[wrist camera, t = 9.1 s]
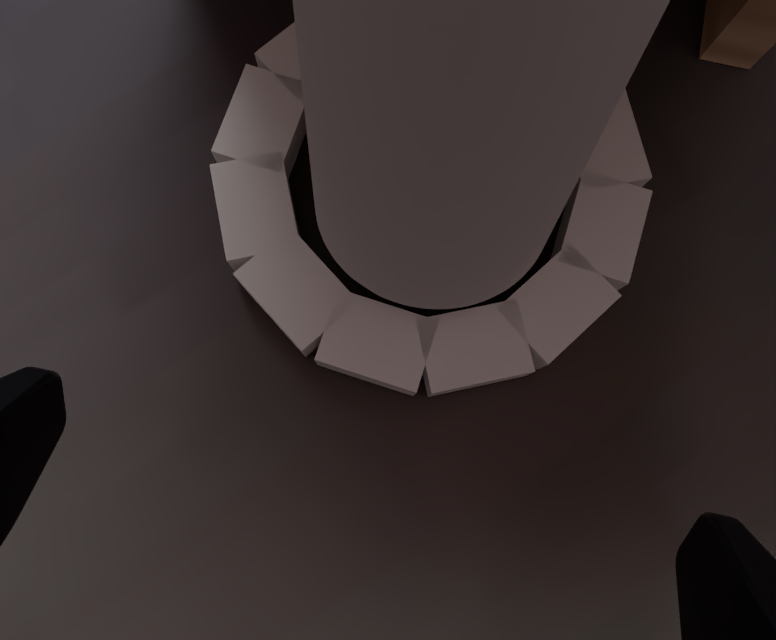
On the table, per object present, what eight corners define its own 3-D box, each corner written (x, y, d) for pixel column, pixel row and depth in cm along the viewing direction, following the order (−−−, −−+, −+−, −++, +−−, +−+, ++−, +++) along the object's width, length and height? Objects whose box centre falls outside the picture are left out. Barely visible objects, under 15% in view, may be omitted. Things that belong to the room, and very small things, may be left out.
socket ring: (680, 343, 19) (700, 336, 18) (263, 432, 18) (256, 431, 17) (571, -23, 21) (583, -51, 20) (194, 42, 20) (183, 17, 19)
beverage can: (301, 308, 18) (205, -193, 7) (331, 115, 20) (299, -480, 9) (542, 333, 18) (854, -127, 7) (542, 137, 20) (765, -433, 9)
